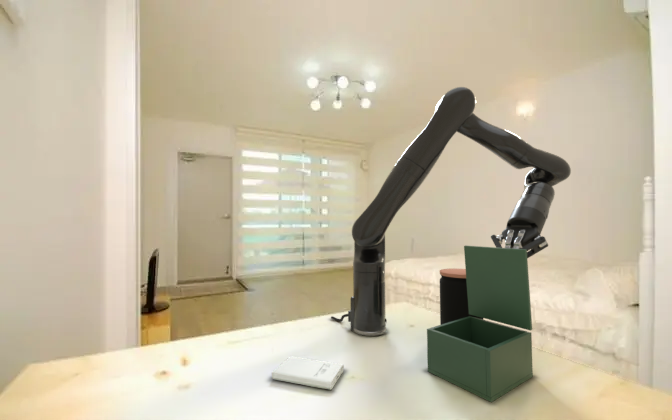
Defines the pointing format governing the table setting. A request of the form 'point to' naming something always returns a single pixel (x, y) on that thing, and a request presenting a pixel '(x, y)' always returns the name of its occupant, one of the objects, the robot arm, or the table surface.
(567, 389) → the table surface
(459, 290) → the coffee jar
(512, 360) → the green box
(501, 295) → the green lid
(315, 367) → the hard drive
